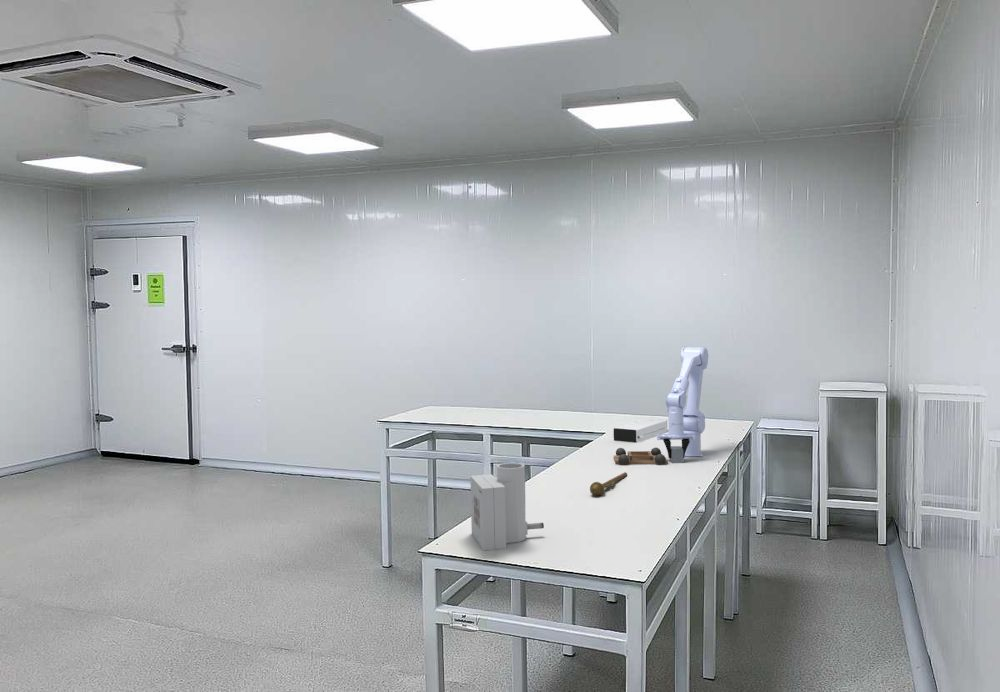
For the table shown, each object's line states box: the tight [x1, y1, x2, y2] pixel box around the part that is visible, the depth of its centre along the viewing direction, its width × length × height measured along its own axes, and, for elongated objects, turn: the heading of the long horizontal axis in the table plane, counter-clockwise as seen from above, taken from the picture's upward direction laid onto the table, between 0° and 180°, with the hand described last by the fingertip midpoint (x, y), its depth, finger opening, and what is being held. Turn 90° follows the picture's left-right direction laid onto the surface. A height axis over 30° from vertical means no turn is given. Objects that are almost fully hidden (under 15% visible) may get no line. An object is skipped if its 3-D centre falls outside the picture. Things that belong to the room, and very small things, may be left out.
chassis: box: [613, 447, 669, 466], centre depth 323 cm, size 15×20×4 cm
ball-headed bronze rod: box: [589, 471, 628, 497], centre depth 281 cm, size 5×35×5 cm
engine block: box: [669, 445, 684, 464], centre depth 321 cm, size 6×4×6 cm
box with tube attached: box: [469, 462, 545, 551], centre depth 221 cm, size 16×19×20 cm
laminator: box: [613, 418, 668, 444], centre depth 381 cm, size 34×12×6 cm, turn 145°
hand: (676, 457), depth 321 cm, fingers closed on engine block, 4 cm apart
